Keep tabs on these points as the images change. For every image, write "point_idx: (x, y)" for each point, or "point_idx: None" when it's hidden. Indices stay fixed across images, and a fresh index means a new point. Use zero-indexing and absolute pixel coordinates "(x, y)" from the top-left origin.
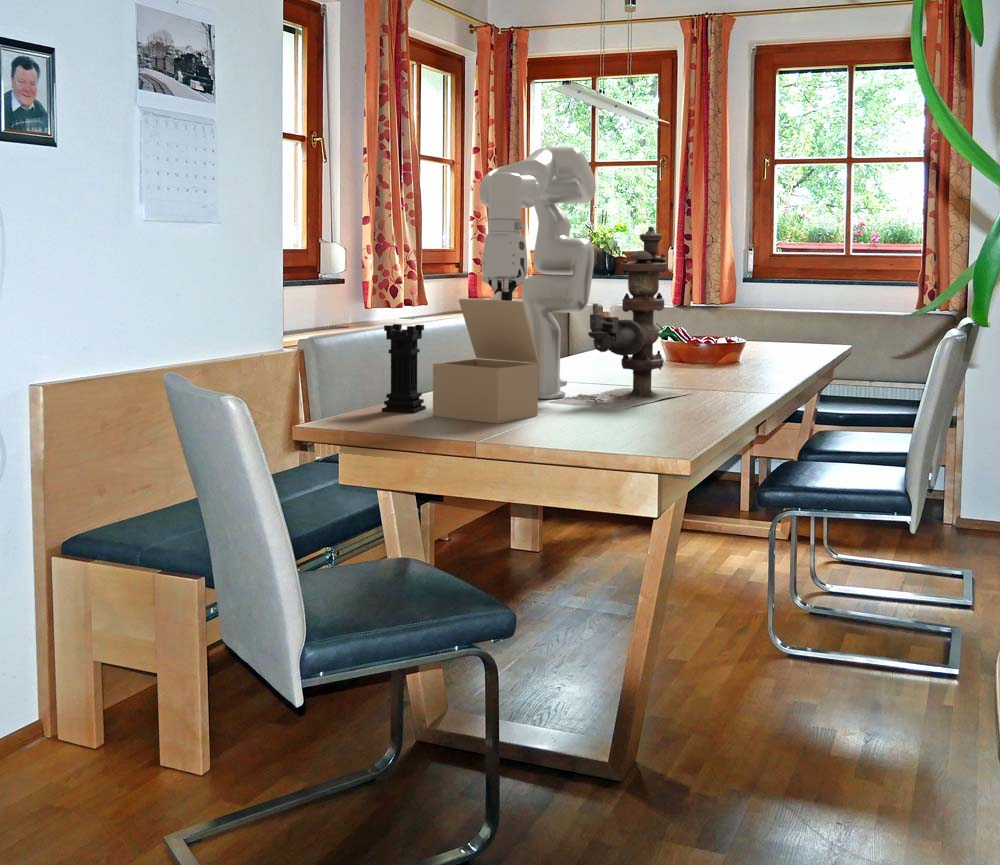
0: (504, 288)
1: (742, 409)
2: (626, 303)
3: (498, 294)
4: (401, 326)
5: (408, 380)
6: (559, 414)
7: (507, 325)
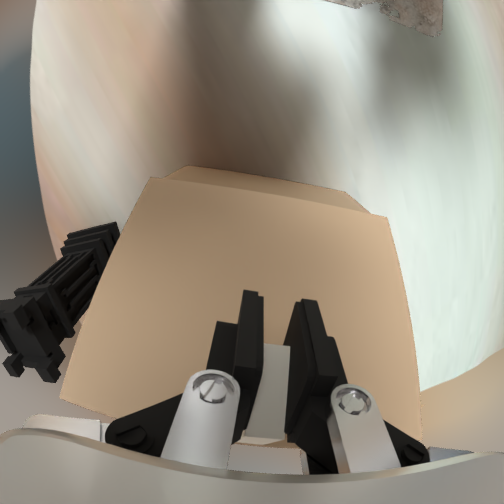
0: (306, 460)
1: None
2: None
3: (270, 441)
4: None
5: (91, 294)
6: (375, 149)
7: None
